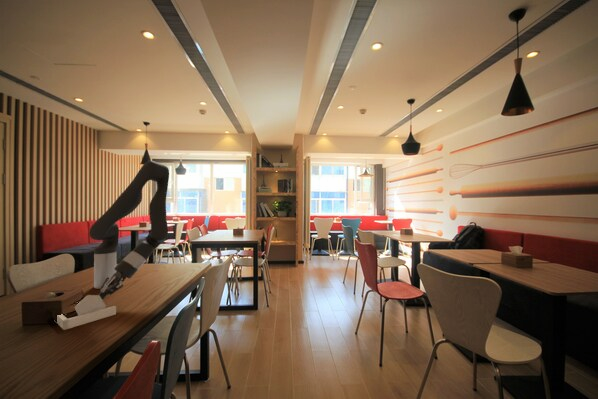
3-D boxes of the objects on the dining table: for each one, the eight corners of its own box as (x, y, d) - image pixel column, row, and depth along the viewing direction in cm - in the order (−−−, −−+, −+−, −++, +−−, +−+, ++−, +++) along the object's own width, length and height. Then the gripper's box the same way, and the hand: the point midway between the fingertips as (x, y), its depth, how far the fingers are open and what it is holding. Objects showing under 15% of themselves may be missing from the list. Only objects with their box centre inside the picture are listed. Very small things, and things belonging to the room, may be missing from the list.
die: (112, 313, 99) (105, 290, 102) (100, 312, 91) (93, 287, 94) (87, 325, 96) (81, 301, 99) (73, 325, 88) (67, 299, 91)
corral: (51, 317, 96) (51, 309, 96) (100, 304, 108) (100, 297, 108) (63, 330, 86) (63, 321, 86) (116, 314, 98) (116, 306, 98)
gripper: (117, 257, 112) (81, 294, 102) (130, 261, 104) (92, 301, 94) (131, 267, 116) (98, 303, 106) (144, 271, 108) (109, 310, 98)
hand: (95, 302), depth 100 cm, fingers closed
